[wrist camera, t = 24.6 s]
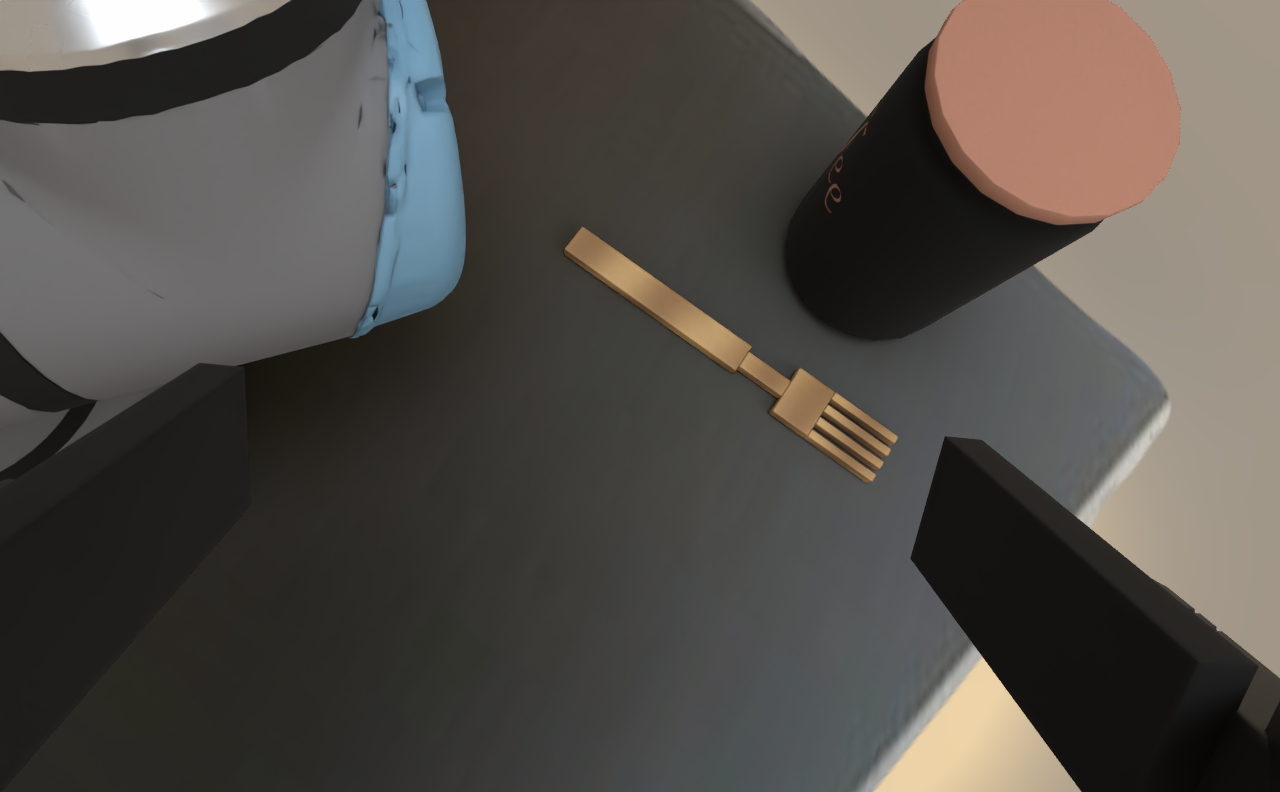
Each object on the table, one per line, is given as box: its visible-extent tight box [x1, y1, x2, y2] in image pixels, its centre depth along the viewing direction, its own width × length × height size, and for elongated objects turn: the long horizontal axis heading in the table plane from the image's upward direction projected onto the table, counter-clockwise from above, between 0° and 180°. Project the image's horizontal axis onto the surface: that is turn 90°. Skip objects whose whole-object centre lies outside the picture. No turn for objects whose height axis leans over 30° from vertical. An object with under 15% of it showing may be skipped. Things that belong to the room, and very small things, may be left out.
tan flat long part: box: [564, 227, 898, 483], centre depth 45 cm, size 22×3×1 cm, turn 55°
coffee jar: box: [787, 0, 1180, 340], centre depth 39 cm, size 11×11×18 cm
